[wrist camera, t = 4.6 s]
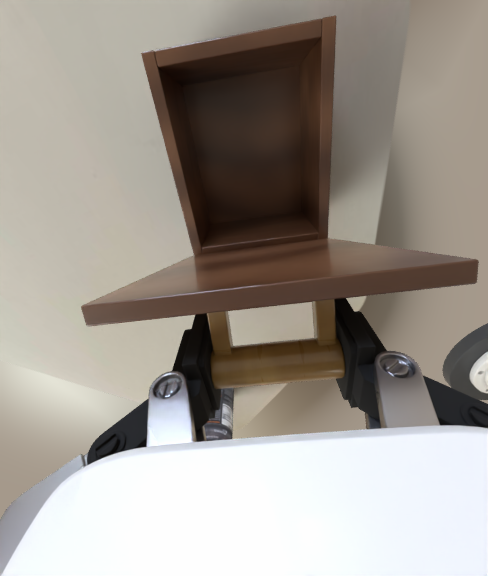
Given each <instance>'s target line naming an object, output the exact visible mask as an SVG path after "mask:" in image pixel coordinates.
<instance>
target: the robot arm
mask: <svg viewBox="0 0 488 576" xmlns="http://www.w3.org/2000/svg"><path fill="white" fill-rule="evenodd" d="M334 302H335V322H336V337H337V338H338V340H339V342H340V344H341V347H342V350H343V353H344V358H345V376H344V377H343V378H337V379H336V380H337V383H338V386H339V388H340V391H341V393H342V396H343V398H344V399H345V400H348V401H349V403H350V406H351V408H353V407H358V408H359V409H360V410H362V411H364V412H365V418H366V428H367V429H366V430H351V431H338V432H337V431H336V432H322V433H308V434H294V435H280V436H267V437H253V438H240V439H227V440H214V441H206V435H205V428H204V425H205V424H206V423H207V422H208V421H209V419H215V413H216V410H219V409H220V402H221V390H222V389H216V388H214V386H213V382H212V377H211V353H212V350H213V346H212V340H211V334H210V328H209V322H208V317H207V313H205V314H196V315H195V318H194V322H193V326H192V329H188V330H185V331H184V334H183V337H182V340H181V344H180V347H179V350H178V353H177V357H176V360H175V363H174V366H173V370H172V371H171V372H167V373H164V374H162V375H161V376H159V377H158V378H157V379H156V380H155V381H154V382H153V383H152V385H151V387H150V390H149V399H147V400H146V401H145V402H143V403H142V404H141V405H139V406H138V407H137V408H136V409H134V410H133V411H132V412H130V413H129V414H128V415H126V416H125V417H124V418H122V419H121V420H120V421H118V422H117V423H116V424H114V425H113V426H112V427H111V428H109V429H108V430H107V431H105V432H104V433H103V434H102V435H100V436H99V437H98V438H97V439H96V440H95V442H94V443H93V444H92V446H91V448H90V450H89V452H88V453H87V454H86V455H84V456H83V455H82V454H80V455H79V456H77V457H76V458H74V459H73V460H71V461H70V462H68V463H67V464H66V465H64V466H63V467H61V468H60V469H58V470H57V471H55V472H54V473H52V474H51V475H49V476H48V477H46V478H45V479H44V480H42V481H41V482H39V483H38V484H36V485H35V486H33V487H32V488H30V489H29V490H27V491H26V492H25V493H23V494H22V495H20V496H19V497H18V498H17V499H16V500H14V501H13V502H12V504H11V505H10V506H9V507H8V508H7V509H6V511H5V513H4V514H3V516H2V518H1V519H0V576H488V404H486V403H484V402H482V401H480V400H477V399H475V398H473V397H471V396H468V395H466V394H464V393H462V392H459V391H457V390H455V389H453V388H450V387H448V386H446V385H443V384H441V383H439V382H437V381H434V380H432V379H430V378H428V377H425V376H423V375H422V372H421V369H420V367H419V365H418V364H417V362H415V361H414V360H413V359H412V358H411V357H409V356H407V355H405V354H403V353H400V352H396V351H387V350H386V349H385V347H384V346H383V344H382V343H381V341H380V340H379V338H378V337H377V335H376V334H375V332H374V331H373V329H372V328H371V326H370V325H369V323H368V321H367V320H366V318H365V317H364V315H363V314H362V313H361V312H359V311H358V312H354V311H353V309H352V307H351V306H350V304H349V303H348V301H347V299H346V298H341V299H334ZM470 381H471V383H472V384H473V385H474V386H475V387H476V388H477V389H478V390H479V391H481V392H484V393H488V351H487V352H486V353H485V354H483V355H482V356H481V357H480V358H479V359H478V360H477V361H476V362H475V363H474V365H473V367H472V368H471V371H470Z"/></svg>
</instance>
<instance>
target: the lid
mask: <svg viewBox="0 0 488 576" xmlns="http://www.w3.org/2000/svg"><path fill="white" fill-rule="evenodd" d="M478 263H479V262H478V260H476V259H470V258H463V257H456V256H449V255H442V254H435V253H428V252H420V251H413V250H407V249H400V248H393V247H386V246H379V245H372V244H365V243H358V242H351V241H344V240H337V239H330V238H326V239H318V240H310V241H303V242H295V243H287V244H279V245H271V246H263V247H256V248H248V249H240V250H232V251H224V252H217V253H209V254H201V255H193V256H191V257H189V258H187V259H185V260H182V261H180V262H178V263H176V264H173V265H171V266H169V267H167V268H165V269H162V270H160V271H158V272H156V273H153V274H151V275H149V276H147V277H145V278H142V279H140V280H138V281H136V282H134V283H131V284H129V285H127V286H125V287H122V288H120V289H118V290H116V291H114V292H111V293H109V294H107V295H105V296H102V297H100V298H98V299H96V300H94V301H91V302H89V303H87V304H85V305H83V306H81V309H82V312H83V315H84V319H85V322H86V325H87V326H96V325H105V324H114V323H123V322H132V321H142V320H151V319H160V318H169V317H178V316H187V315H196V314H205V313H207V317H208V322H209V328H210V334H211V340H212V346H213V350H212V353H211V377H212V382H213V386H214V388H216V389H223V388H235V387H246V386H257V385H269V384H280V383H292V382H303V381H313V380H326V379H337V378H343V377H344V376H345V358H344V353H343V350H342V347H341V344H340V342H339V340H338V338H337V337H336V322H335V302H334V299H341V298H350V297H359V296H368V295H377V294H386V293H395V292H403V291H413V290H421V289H431V288H440V287H450V286H459V285H468V284H475V283H476V282H477V274H478ZM305 302H312V310H313V324H314V338H310V339H300V340H290V341H280V342H270V343H260V344H250V345H240V346H233V342H232V336H231V329H230V322H229V316H228V311H232V310H241V309H250V308H259V307H268V306H277V305H286V304H296V303H305Z"/></svg>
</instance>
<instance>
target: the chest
mask: <svg viewBox="0 0 488 576" xmlns="http://www.w3.org/2000/svg"><path fill="white" fill-rule="evenodd" d="M335 37H336V16H331V17H326V18H322V19H316V20H311V21H306V22H300V23H295V24H290V25H285V26H279V27H274V28H269V29H264V30H258V31H253V32H248V33H243V34H237V35H232V36H227V37H222V38H216V39H211V40H206V41H201V42H195V43H190V44H185V45H180V46H174V47H169V48H164V49H159V50H155V51H153V50H152V51H147V52H142V53H141V54H142V58H143V62H144V66H145V70H146V74H147V77H148V81H149V85H150V89H151V93H152V96H153V100H154V104H155V108H156V112H157V116H158V119H159V123H160V127H161V131H162V135H163V138H164V142H165V146H166V150H167V154H168V158H169V161H170V165H171V169H172V173H173V177H174V180H175V184H176V188H177V192H178V196H179V200H180V203H181V207H182V211H183V215H184V219H185V222H186V226H187V230H188V234H189V238H190V242H191V245H192V249H193V253H194V255H201V254H209V253H217V252H224V251H232V250H240V249H248V248H256V247H263V246H271V245H279V244H287V243H295V242H303V241H310V240H318V239H326V238H328V216H329V190H330V165H331V139H332V114H333V88H334V62H335Z"/></svg>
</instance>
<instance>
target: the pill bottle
mask: <svg viewBox="0 0 488 576" xmlns="http://www.w3.org/2000/svg"><path fill="white" fill-rule="evenodd" d="M233 401H234V389H233V388H223V389H222V390H221V402H220V409H219V410H216V413H215V419H209V421H208V422H207V423H206V424H205V425H204V428H205V435H206V441H214V440H227V439H232V431H233Z"/></svg>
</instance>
